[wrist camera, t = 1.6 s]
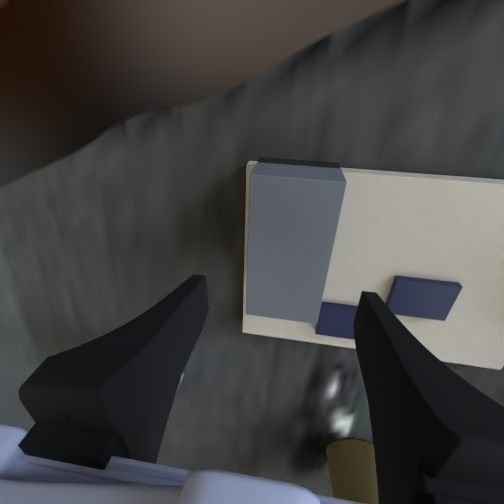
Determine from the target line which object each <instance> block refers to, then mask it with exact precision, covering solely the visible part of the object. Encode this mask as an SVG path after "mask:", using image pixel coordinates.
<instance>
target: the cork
mask: <svg viewBox="0 0 504 504" xmlns="http://www.w3.org/2000/svg"><path fill="white" fill-rule="evenodd" d="M326 454H327V460H328V466H329V471H330V477H331V483H332V488H333V494H334V498H338V499H344V500H349V501H354V502H359V503H365V504H379V500H378V487H377V475H376V464H375V454H374V445H373V444H371V443H368V442H366V441H362V440H357V439H342V440H337V441H334V442H332V443H330V444H329V445H328V446H327V448H326Z"/></svg>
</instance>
